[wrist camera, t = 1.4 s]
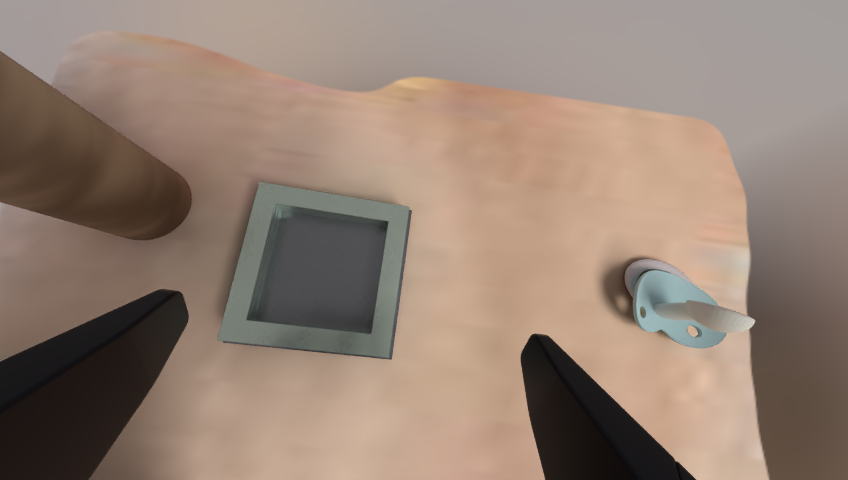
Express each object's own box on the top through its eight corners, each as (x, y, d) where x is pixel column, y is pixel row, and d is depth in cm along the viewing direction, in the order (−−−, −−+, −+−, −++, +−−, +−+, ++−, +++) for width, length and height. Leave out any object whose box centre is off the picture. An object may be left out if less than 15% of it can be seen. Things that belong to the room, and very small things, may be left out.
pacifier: (617, 248, 25) (607, 321, 23) (698, 226, 19) (691, 323, 17) (696, 279, 25) (692, 353, 23) (798, 267, 19) (802, 364, 17)
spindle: (136, 256, 19) (-248, 173, 7) (83, 198, 19) (-373, 27, 7) (208, 204, 20) (-18, 63, 8) (158, 151, 20) (-130, -58, 9)
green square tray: (391, 358, 20) (393, 363, 18) (226, 341, 18) (209, 345, 17) (411, 212, 22) (414, 203, 20) (266, 188, 21) (255, 176, 19)
